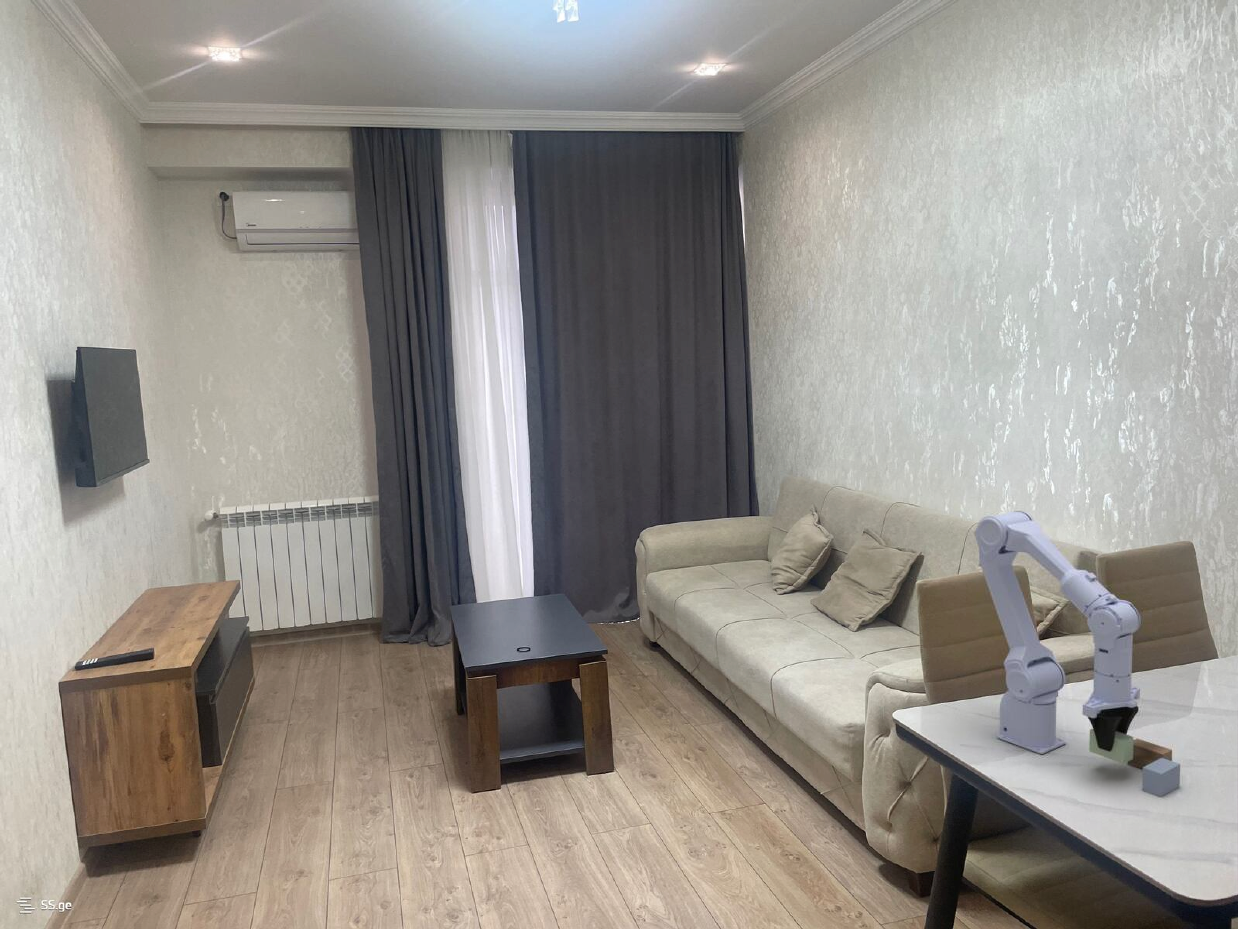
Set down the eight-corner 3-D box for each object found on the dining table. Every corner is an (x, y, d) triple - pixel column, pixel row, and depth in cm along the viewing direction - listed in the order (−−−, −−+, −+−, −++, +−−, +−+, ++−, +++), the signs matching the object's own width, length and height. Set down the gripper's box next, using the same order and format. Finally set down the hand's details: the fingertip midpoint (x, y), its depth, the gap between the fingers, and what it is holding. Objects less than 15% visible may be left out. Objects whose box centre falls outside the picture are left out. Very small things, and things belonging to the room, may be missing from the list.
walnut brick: (1127, 764, 160) (1127, 742, 159) (1136, 759, 161) (1137, 738, 161) (1162, 776, 155) (1163, 754, 154) (1171, 771, 156) (1172, 749, 156)
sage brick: (1089, 751, 158) (1089, 729, 158) (1098, 747, 160) (1099, 725, 159) (1123, 763, 153) (1124, 741, 153) (1132, 759, 155) (1133, 737, 154)
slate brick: (1160, 797, 148) (1161, 774, 147) (1142, 790, 150) (1142, 767, 150) (1179, 786, 151) (1180, 764, 150) (1161, 780, 153) (1161, 757, 153)
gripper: (1112, 687, 148) (1110, 766, 149) (1158, 668, 155) (1156, 743, 157) (1071, 675, 154) (1069, 751, 155) (1117, 658, 161) (1115, 730, 163)
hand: (1110, 746), depth 156 cm, fingers closed on sage brick, 3 cm apart
